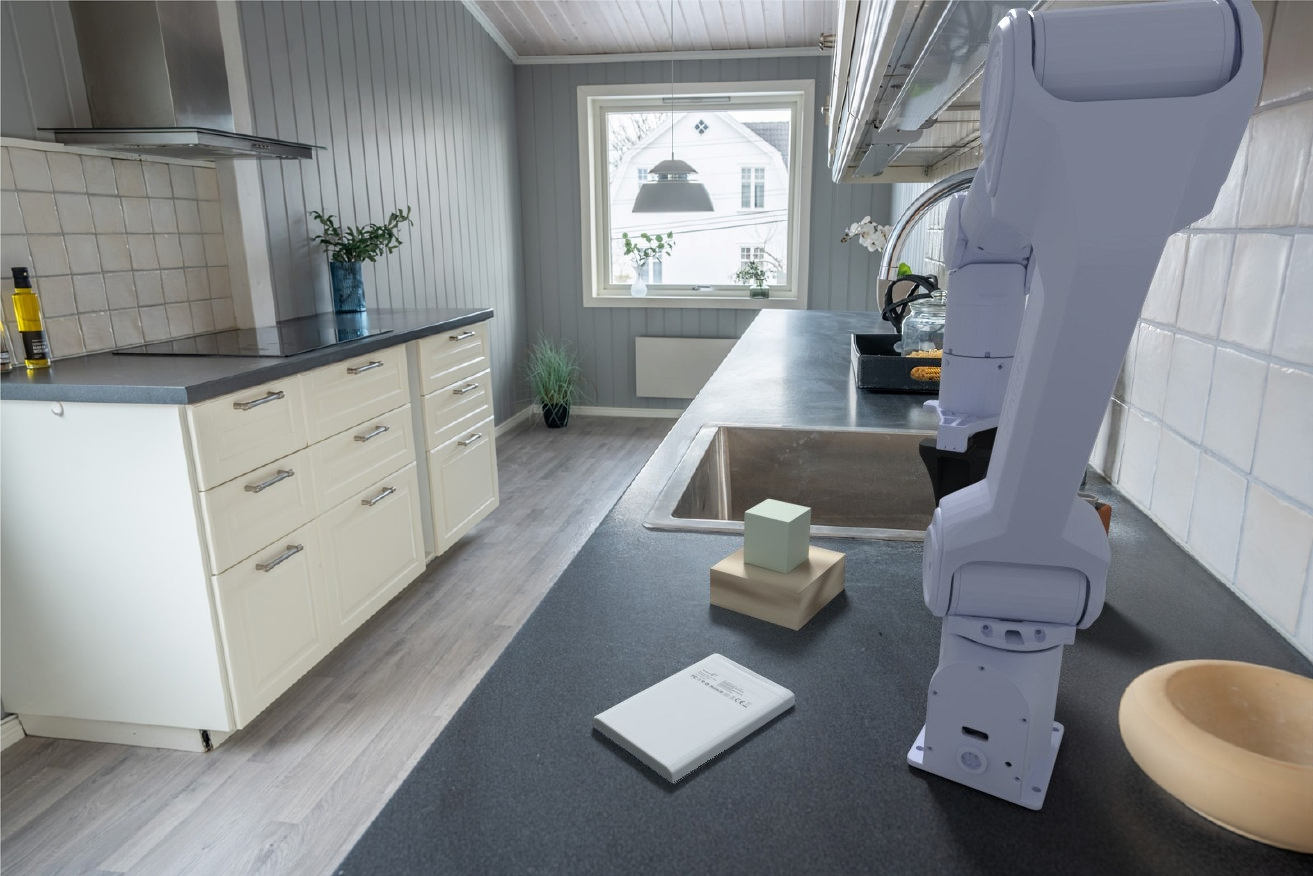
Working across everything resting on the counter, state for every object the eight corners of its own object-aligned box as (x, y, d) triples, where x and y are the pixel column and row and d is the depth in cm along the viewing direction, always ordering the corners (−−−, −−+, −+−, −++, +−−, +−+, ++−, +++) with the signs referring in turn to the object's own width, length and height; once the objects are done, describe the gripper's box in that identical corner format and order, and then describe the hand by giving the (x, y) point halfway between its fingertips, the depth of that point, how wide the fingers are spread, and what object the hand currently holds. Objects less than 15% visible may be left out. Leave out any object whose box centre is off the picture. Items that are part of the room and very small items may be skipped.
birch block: (797, 635, 67) (798, 593, 66) (710, 607, 73) (710, 568, 72) (844, 592, 75) (845, 553, 74) (762, 569, 80) (762, 533, 79)
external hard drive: (593, 734, 55) (714, 667, 63) (673, 793, 49) (795, 710, 57) (592, 714, 55) (714, 649, 63) (672, 771, 49) (795, 691, 57)
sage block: (786, 574, 70) (788, 522, 69) (743, 562, 73) (744, 511, 71) (808, 557, 74) (811, 508, 72) (766, 546, 76) (768, 498, 75)
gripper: (952, 338, 69) (940, 482, 73) (901, 361, 58) (890, 532, 61) (1039, 343, 65) (1022, 496, 69) (1002, 369, 54) (984, 551, 57)
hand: (965, 514), depth 65 cm, fingers open, 7 cm apart
